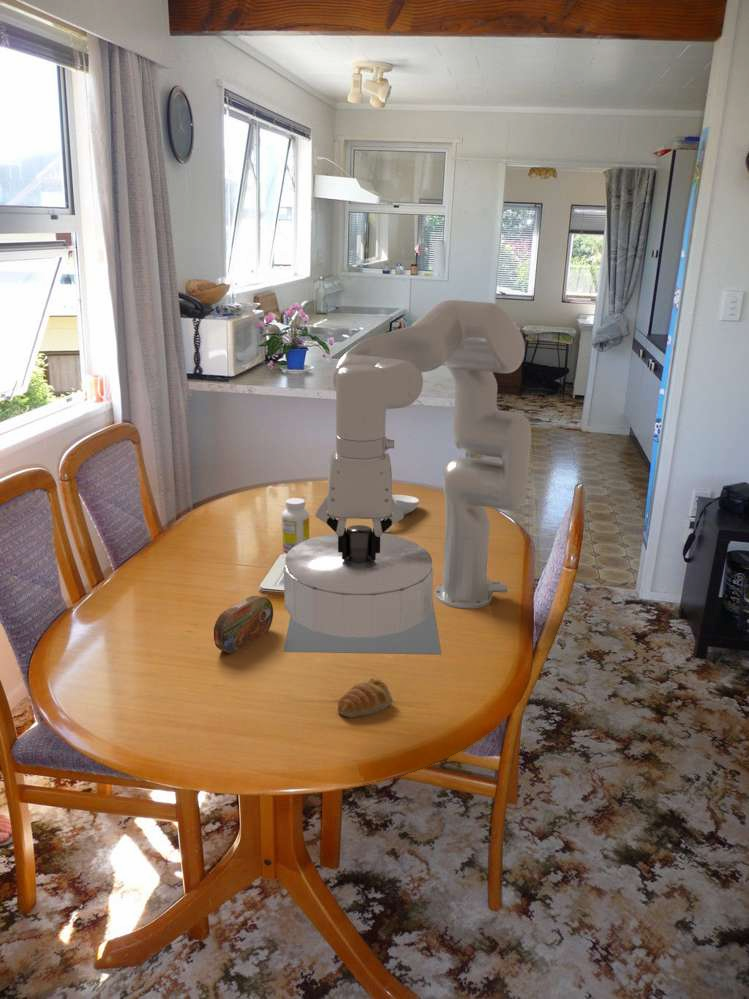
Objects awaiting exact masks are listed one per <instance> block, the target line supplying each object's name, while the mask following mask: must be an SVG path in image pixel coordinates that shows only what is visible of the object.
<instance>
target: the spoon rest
mask: <svg viewBox="0 0 749 999" xmlns="http://www.w3.org/2000/svg"><path fill="white" fill-rule="evenodd" d="M392 497H393V498H394V500H395V501H396V503H397V504H398V506H399V507H400V509H401V510H402V512H403V515H404V516H405V515H407V514H409V513H412V512H413V511H414V510H416V508H417V507H418V506H419V504H420V499H419V498H417V497H415V496H411V495H405V494H392ZM392 513H393V512H392V511H391V514H392ZM391 514H390V515H391ZM383 519H384V518H382V519H381V521H382V520H383ZM373 528H374V527H373V526H372V529H373ZM390 532H391V526H390V527H389V528H388V529H387V530H386V531H385V532H384V533H390Z"/></svg>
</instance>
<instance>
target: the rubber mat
mask: <svg viewBox="0 0 749 999" xmlns="http://www.w3.org/2000/svg"><path fill="white" fill-rule="evenodd" d="M435 614H436V613H435V608H434V601H433V600H432V609H431V611H430V612H429V613H428V615H427V616H426V617H425V619H424V620H423V622H422V623H419V624H417V625H415V626H413V627H411V628H409V629H407V630H405V631H403V632H401V633H394V634H389V635H384V636H378V637H375V638H371V637H339V636H335V635H330V634H325V633H321V632H316V631H312V630H311V629H309V628H307V627H305V626H303V625H301V624H300V623H298V622H296V621H294V620H293V618H292V617H291V616H290V615H289V616H290V617H289V621H288V622H289V623H288V627H287V632H286V635H285V641H284V648H283V653H286V652H287V653H328V654H329V653H336V654H337V653H341V654H345V653H346V654H350V653H351V654H391V655H392V654H396V655H397V654H399V655H401V654H402V655H404V654H405V655H407V654H408V655H442V649H441V645H440V643H441V642H440V638H439V633H438V627H437V619H436V615H435Z"/></svg>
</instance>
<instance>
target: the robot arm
mask: <svg viewBox="0 0 749 999" xmlns="http://www.w3.org/2000/svg"><path fill="white" fill-rule="evenodd" d="M525 346H526V345H525V340H524V337H523V334H522V332H521V330H520V329H519V327H518V326H517V325H516V323H515V321H513V319H512V317H511V316H510V315H509V314H508V313H507V312H506V310H505V309H503V308H502V307H501V306H499V305H498V304H496V303H493V302H489V301H488V302H487V301H486V302H485V301H473V300H457V299H453V300H452V299H451V300H444V301H442V302H439V303H437V304H435V305H434V306H433V307H432V308H431V309H429V310H428V311H427V312H426V313H424V314H423V315H422V316H421V317H420V318H419V319H418V320H416V321H414V323H412V324H411V325H410V326H405V327H403V328H398V329H395V330H392V331H389V332H385V333H382V334H378V335H375V336H371V337H369V338H366V339H364V340H362V341H360V342H358V343H357V344H355V345H354V346H353V347H351V348H350V349H348V350H347V351H346V352H344V354H343V356H341V357H340V359H339V360H338V361H337V363H336V365H335V368H334V371H333V375H332V385H333V388H334V390H335V392H336V394H335V395H336V399H335V401H336V402H335V404H336V405H335V407H336V409H335V410H336V411H335V413H336V414H335V417H336V418H335V432H336V433H335V451H333V452H332V453H331V456H330V460H329V466H328V478H327V479H328V480H327V495H326V496H325V498H323V501H322V502H321V504H319V506H318V508H317V509H316V510H315V517H316V518H317V519H319V520H320V521H321V522H323V523H325V524H326V525H327V526H328V527H329V528H330V529H331V530H332V531H334V533H336V534H337V535H338V552H342V559H343V560H345V559H347V528H346V525H347V519H353V520H355V519H358V520H359V519H360V520H362V519H363V520H365V519H367V520H369V519H370V520H371V522H372V540H371V559H372V560H376V553H380V536H382V534H385V533H386V532H385V531H386V530H387V529H388V528H389V527H390V528H391V527H392V525H394V524H396V523H398V522H400V521H401V520H403V519H404V516H405V515H403V512H402V510H401V509H400V507H399V506H398V504H397V503H396V501H395V500H394V498H393V497H392V495H393V475H392V474H393V473H392V464H391V457H390V453H388V452H387V450H390V449H395V439H389V438H388V437H387V436H386V418H387V410H396V409H402V408H403V409H404V408H407V407H409V406H411V405H413V403H415V402H416V401H417V399H419V396H420V395H421V394H422V391H423V390H422V389H423V384H424V378H423V374H422V373H427V372H432V371H435V370H437V369H438V368H439V367H441V366H442V365H443V364H445V365H446V367H447V368H448V370H449V372H450V375H451V376H452V379H453V382H454V404H453V405H454V407H453V408H454V410H453V422H452V424H453V425H452V438H453V439H452V440H453V443H454V446H455V447H456V448H457V450H459V451H461V452H465V453H469V454H473V455H480V456H487V457H493V458H497V459H498V458H499V459H500V460H501V461H502V462H498V461H491V460H489V459H488V460H487V459H486V460H485V459H483V458H482V459H481V458H480V459H479V458H475V457H464V456H463V457H457V458H454V459H452V460H451V461H449V462H448V463H447V464H446V466H445V468H444V470H443V474H442V476H443V477H442V482H443V483H442V485H443V492H444V500H445V502H444V503H445V521H444V522H445V524H444V526H445V527H444V546H443V562H442V563H443V564H442V583H441V584H438V585H437V586H436V587H435V589H434V597H435V599H436V600H437V601H438V602H440V604H443V605H446V606H448V607H452V608H457V609H465V610H466V609H471V610H472V609H477V608H478V609H479V608H482V607H485V606H487V605H489V604H490V603H491V602H492V600H493V593H503V594H505V593H506V594H507V593H508V584H507V583H501V581H500V580H497V579H496V580H495V579H494V580H490V579H489V578H488V576H487V573H488V572H487V571H488V562H489V561H488V560H489V544H490V533H491V532H490V530H491V523H490V522H491V521H490V518H489V515H488V513H487V511H486V509H485V508H491V509H495V510H502V511H517V510H518V509H520V508H521V507H522V506H523V504H524V502H525V499H526V495H527V491H528V490H527V489H528V482H529V470H530V459H531V458H530V456H531V447H532V430H531V429H532V428H531V425H530V421H529V419H528V418H527V417H526V416H525V415H523V413H519V412H515V411H510V410H509V411H507V410H501V409H499V408H498V406H497V403H498V400H497V399H498V382H497V379H496V377H495V375H494V373H497V374H511V373H514V372H515V371H517V370H518V369H519V368H520V366H521V365H522V363H523V361H524V357H525V351H526V350H525V348H526V347H525ZM391 511H392V512H393V513H392V514H391ZM382 518H384V519H383V520H382V521H381V519H382ZM373 527H374V528H373Z"/></svg>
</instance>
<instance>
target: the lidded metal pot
mask: <svg viewBox="0 0 749 999" xmlns="http://www.w3.org/2000/svg"><path fill="white" fill-rule="evenodd" d="M346 531H347V559H345V560H343V559H342V552H338V535H337V534H336V532H333V533H329V534H323V535H318V536H315V537H312V538H309V539H308V540H306V541H303V542H301V543H299V544H297V545H296V546H294V547H293V548H292V549H291V550H290V551H289V552H286V553H287V554H286V555H285V561H284V563H285V564H284V567H283V590H284V591H283V592H284V593H283V594H284V609H286V612H287V613H288V614H289V616H291V617H292V618H293V620H294V621H296V622H298V623H300V624H301V625H303V626H305V627H307V628H309V629H311V630H312V631H316V632H321V633H325V634H330V635H335V636H339V637H371V638H375V637H378V636H384V635H389V634H394V633H401V632H403V631H405V630H407V629H409V628H411V627H413V626H415V625H417V624H419V623H422V622H423V620H424V619H425V617H426V616H427V615H428V613H429V612H430V611H431V609H432V601H433V589H434V588H433V586H434V569H433V558H432V555H431V554H430V553H429V552H428V551H427V549H426V548H424V547H423V546H421V545H420V544H418V543H416V542H414V541H411V540H410V539H406V538H404V537H400V536H395V535H392V534H391V535H390V534H386V533H382V536H380V553H376V560H372V559H371V540H372V532H373V528H372V527H370V526H367V525H362V524H354V525H351V526H349V527H347V528H346Z"/></svg>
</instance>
